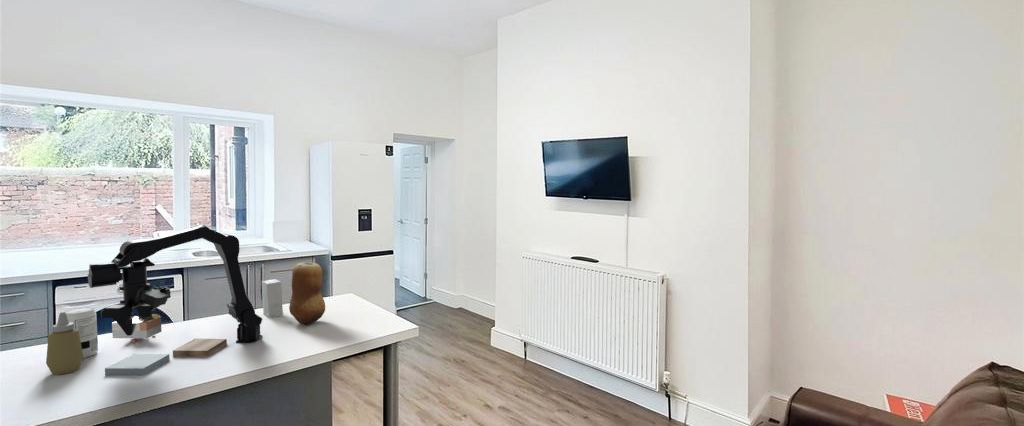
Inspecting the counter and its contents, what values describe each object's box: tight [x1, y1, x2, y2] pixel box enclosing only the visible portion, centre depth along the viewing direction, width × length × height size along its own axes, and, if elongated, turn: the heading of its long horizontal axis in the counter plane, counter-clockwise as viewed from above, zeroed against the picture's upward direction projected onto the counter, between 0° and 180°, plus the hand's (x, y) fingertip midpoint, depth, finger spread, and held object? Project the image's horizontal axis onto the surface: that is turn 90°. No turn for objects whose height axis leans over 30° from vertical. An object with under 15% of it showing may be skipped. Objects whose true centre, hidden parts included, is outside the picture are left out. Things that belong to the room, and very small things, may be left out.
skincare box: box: [261, 278, 284, 319], centre depth 194 cm, size 8×6×15 cm
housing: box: [111, 316, 162, 339], centre depth 139 cm, size 10×6×5 cm, turn 93°
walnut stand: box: [172, 338, 228, 358], centre depth 154 cm, size 11×11×2 cm
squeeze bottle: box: [45, 311, 84, 376], centre depth 135 cm, size 8×8×18 cm
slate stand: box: [104, 353, 171, 376], centre depth 140 cm, size 11×11×2 cm
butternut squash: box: [288, 262, 326, 326], centre depth 183 cm, size 14×13×25 cm
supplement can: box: [64, 306, 99, 359], centre depth 147 cm, size 8×8×15 cm
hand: (137, 331), depth 139 cm, fingers closed on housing, 6 cm apart
